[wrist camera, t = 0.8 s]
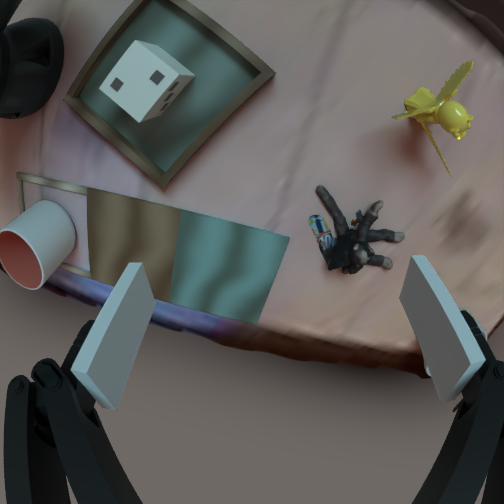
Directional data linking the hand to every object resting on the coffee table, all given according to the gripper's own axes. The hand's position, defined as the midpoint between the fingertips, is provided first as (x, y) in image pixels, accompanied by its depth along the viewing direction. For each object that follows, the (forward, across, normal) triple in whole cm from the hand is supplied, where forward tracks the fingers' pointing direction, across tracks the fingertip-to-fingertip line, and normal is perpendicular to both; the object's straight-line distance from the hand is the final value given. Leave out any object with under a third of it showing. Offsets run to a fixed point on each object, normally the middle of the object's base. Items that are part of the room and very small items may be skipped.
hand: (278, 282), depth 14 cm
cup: (+23, -34, -7) cm, 41 cm away
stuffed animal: (+22, +10, -10) cm, 27 cm away
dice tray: (+22, -12, +10) cm, 27 cm away
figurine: (+22, +20, +5) cm, 30 cm away
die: (+22, -12, +10) cm, 27 cm away
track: (+22, -21, -11) cm, 32 cm away
